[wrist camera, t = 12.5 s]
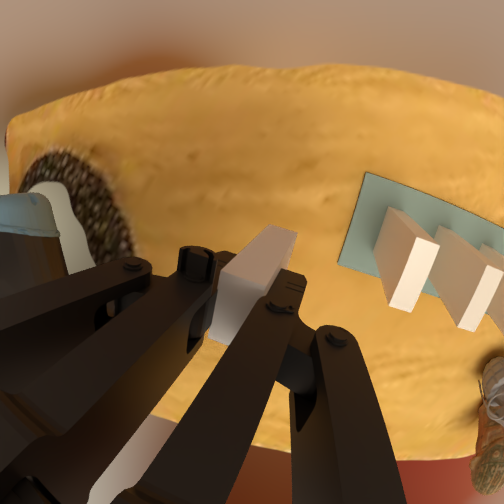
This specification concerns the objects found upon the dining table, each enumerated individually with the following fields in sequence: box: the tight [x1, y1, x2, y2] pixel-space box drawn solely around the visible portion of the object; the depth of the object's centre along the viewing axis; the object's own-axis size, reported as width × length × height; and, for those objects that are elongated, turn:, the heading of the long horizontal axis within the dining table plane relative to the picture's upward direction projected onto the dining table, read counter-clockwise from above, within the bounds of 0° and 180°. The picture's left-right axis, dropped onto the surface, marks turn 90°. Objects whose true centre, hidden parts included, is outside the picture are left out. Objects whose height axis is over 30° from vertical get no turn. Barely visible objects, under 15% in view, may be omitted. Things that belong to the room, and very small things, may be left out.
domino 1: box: [373, 206, 440, 313], centre depth 23 cm, size 2×5×12 cm, turn 167°
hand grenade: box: [478, 356, 504, 427], centre depth 24 cm, size 6×6×11 cm
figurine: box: [469, 399, 504, 495], centre depth 24 cm, size 8×8×15 cm
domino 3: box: [479, 243, 504, 335], centre depth 21 cm, size 2×5×12 cm, turn 167°
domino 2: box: [428, 225, 504, 332], centre depth 22 cm, size 2×5×12 cm, turn 167°
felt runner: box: [338, 172, 504, 315], centre depth 27 cm, size 32×10×1 cm, turn 77°
